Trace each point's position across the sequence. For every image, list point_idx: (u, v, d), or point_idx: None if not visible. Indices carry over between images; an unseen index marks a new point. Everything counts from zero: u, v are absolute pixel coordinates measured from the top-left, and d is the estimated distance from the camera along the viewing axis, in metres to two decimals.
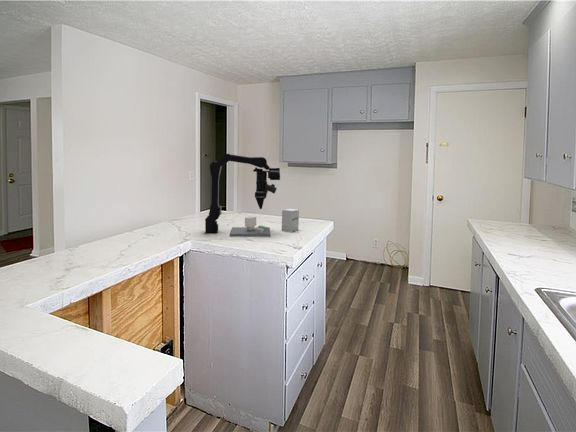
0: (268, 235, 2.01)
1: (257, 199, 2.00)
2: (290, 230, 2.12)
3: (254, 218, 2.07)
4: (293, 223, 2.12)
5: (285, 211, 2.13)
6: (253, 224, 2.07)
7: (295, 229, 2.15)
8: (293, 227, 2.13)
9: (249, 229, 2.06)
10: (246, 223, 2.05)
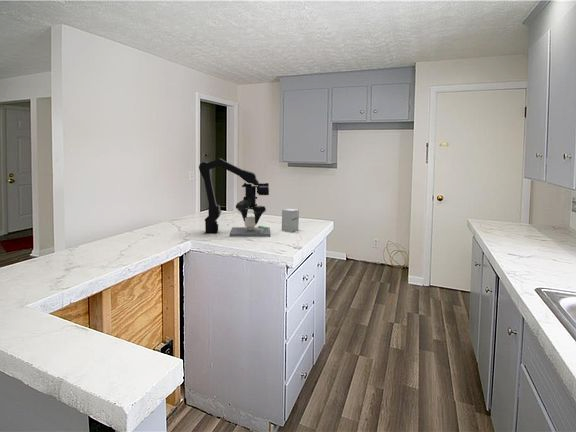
0: (268, 235, 2.01)
1: None
2: (290, 230, 2.12)
3: (254, 218, 2.07)
4: (293, 223, 2.12)
5: (285, 211, 2.13)
6: (253, 224, 2.07)
7: (295, 229, 2.15)
8: (293, 227, 2.13)
9: (249, 229, 2.06)
10: (246, 223, 2.05)
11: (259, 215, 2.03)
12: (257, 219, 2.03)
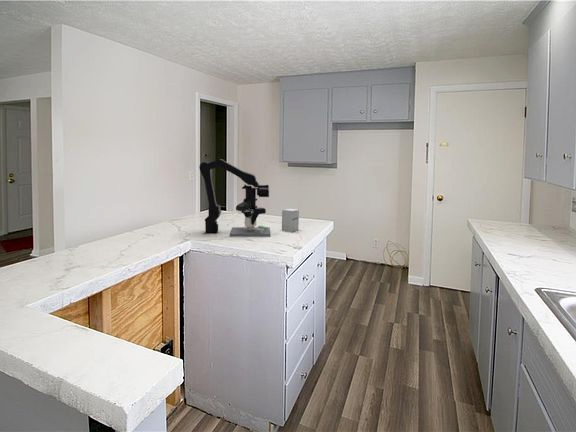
0: (268, 235, 2.01)
1: None
2: (290, 230, 2.12)
3: None
4: (293, 223, 2.12)
5: (285, 211, 2.13)
6: None
7: (295, 229, 2.15)
8: (293, 227, 2.13)
9: (249, 229, 2.06)
10: (246, 223, 2.05)
11: (255, 216, 2.05)
12: (253, 220, 2.05)
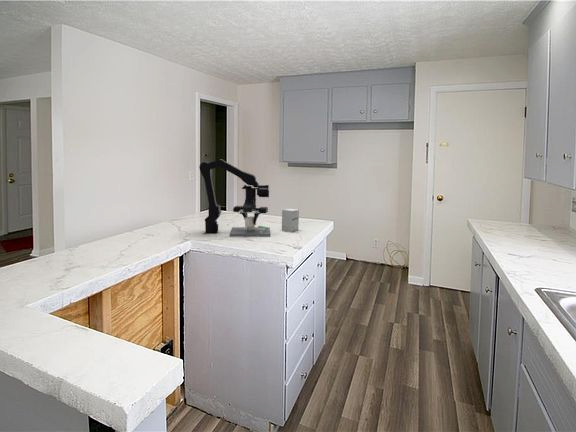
0: (268, 235, 2.01)
1: None
2: (290, 230, 2.12)
3: None
4: (293, 223, 2.12)
5: (285, 211, 2.13)
6: (253, 224, 2.07)
7: (295, 229, 2.15)
8: (293, 227, 2.13)
9: (249, 229, 2.06)
10: (246, 223, 2.05)
11: (257, 216, 2.07)
12: (256, 220, 2.07)
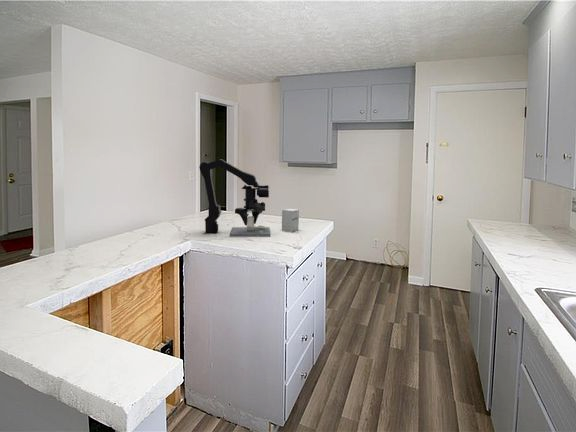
0: (268, 235, 2.01)
1: (241, 215, 2.04)
2: (290, 230, 2.12)
3: (253, 218, 2.08)
4: (293, 223, 2.12)
5: (285, 211, 2.13)
6: (253, 224, 2.08)
7: (295, 229, 2.15)
8: (293, 227, 2.13)
9: (251, 229, 2.06)
10: (249, 223, 2.04)
11: None
12: None
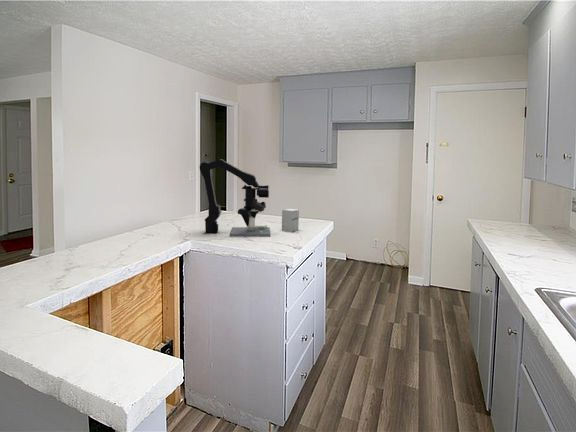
0: (268, 235, 2.01)
1: (243, 216, 2.03)
2: (290, 230, 2.12)
3: None
4: (293, 223, 2.12)
5: (285, 211, 2.13)
6: None
7: (295, 229, 2.15)
8: (293, 227, 2.13)
9: (253, 229, 2.07)
10: (252, 223, 2.04)
11: (252, 214, 2.11)
12: None
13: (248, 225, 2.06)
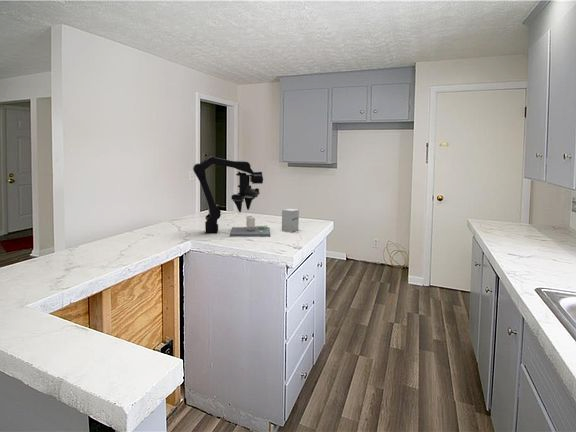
0: (268, 235, 2.01)
1: (235, 202, 2.05)
2: (290, 230, 2.12)
3: None
4: (293, 223, 2.12)
5: (285, 211, 2.13)
6: None
7: (295, 229, 2.15)
8: (293, 227, 2.13)
9: (253, 229, 2.07)
10: (252, 223, 2.04)
11: None
12: None
13: (248, 225, 2.06)
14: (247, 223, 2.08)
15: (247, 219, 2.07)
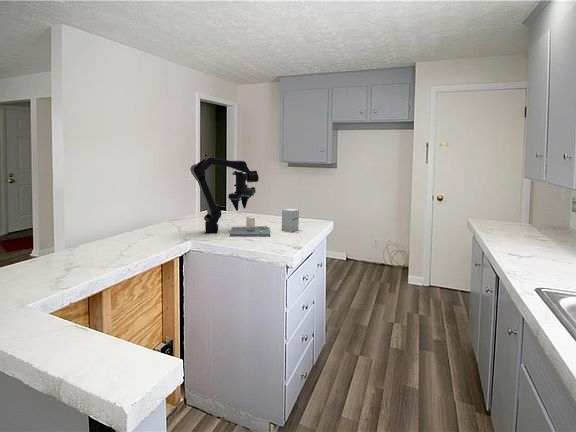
0: (268, 235, 2.01)
1: (232, 201, 2.08)
2: (290, 230, 2.12)
3: None
4: (293, 223, 2.12)
5: (285, 211, 2.13)
6: None
7: (295, 229, 2.15)
8: (293, 227, 2.13)
9: (253, 229, 2.07)
10: (252, 223, 2.04)
11: None
12: None
13: (248, 225, 2.06)
14: (247, 223, 2.08)
15: (247, 219, 2.07)
